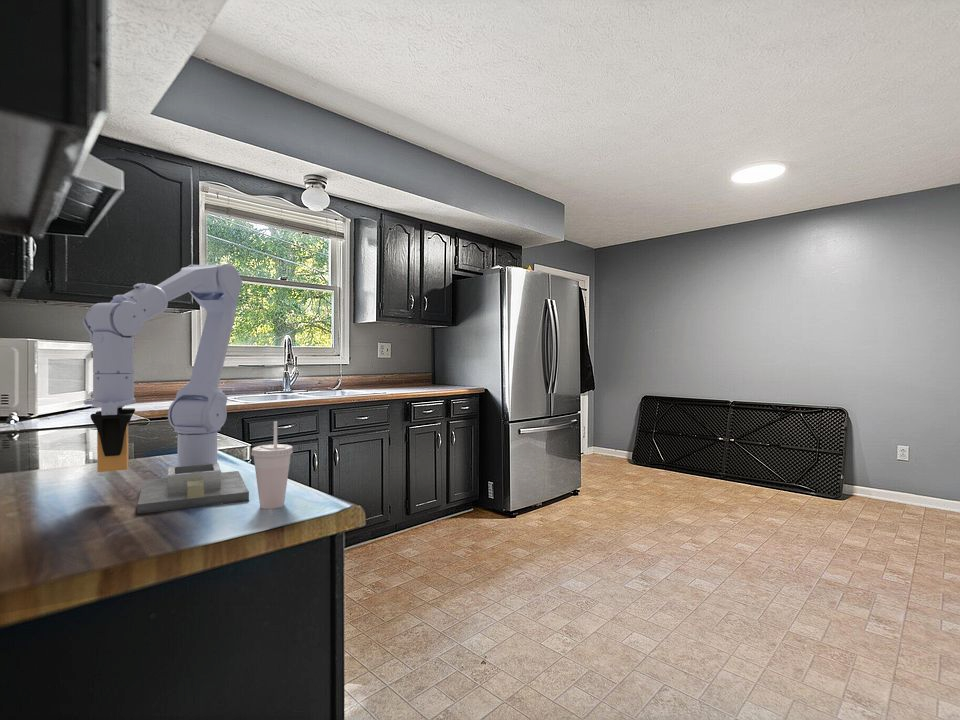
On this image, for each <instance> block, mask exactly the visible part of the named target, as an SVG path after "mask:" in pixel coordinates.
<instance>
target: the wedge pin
mask: <svg viewBox="0 0 960 720" xmlns="http://www.w3.org/2000/svg"><path fill="white" fill-rule="evenodd" d="M96 430H97V429H96ZM96 433H97V434H96V435H97V439H96V440H97V444H96V445H97V446H96V447H97V449H96V450H97V457H96V458H97V461H96V463H97V473H103V472H104V473H106V472H115V471H117V472H118V471H127V470H128V467H129V464H130V463H129V460H130V459H129V456H130V455H129V425H128V424H127V427H126V430H125V434H124V440H123V446H122V450H121V453H120V455H118V456H105V455H104V452H103V449H102V444H101V440H100V436H99V433H98V430H97V431H96Z"/></svg>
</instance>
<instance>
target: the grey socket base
mask: <svg viewBox="0 0 960 720" xmlns="http://www.w3.org/2000/svg"><path fill="white" fill-rule="evenodd" d="M167 472H168V473H167V477H161V478H159V477H158V478H150V479H143V482H142V487H141V490H140V493H139V498H138V501H137V508H136V509H137V513H136V514H137V515H140V514H141V515H142V514H150V513H151V514H152V513H157V512H165V511H173V510H182V509H190V508H191V509H192V508H199V507H207V506H215V505H216V506H218V505H223V504H233V503H239V502H240V503H241V502H248V501H250V490H249V489H248V487H247V485H246V483H245V481H244V479H243V477H242V475H241V473H240V471H239V470H236V471H235V470H234V471H224V472H223V471H222V470H221V467H220V465H219V462H217V463H207V464H195V465H183V466H178V465H175V466H168V470H167Z"/></svg>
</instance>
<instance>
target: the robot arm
mask: <svg viewBox="0 0 960 720" xmlns="http://www.w3.org/2000/svg"><path fill="white" fill-rule="evenodd" d="M132 287H133V289H131V290H130V291H128V292H126V293H124V294H116V295H114V296H112V300H110V302H98V303H95V304H93V305H92V306H91V307H90V308H88V310H87V312H86V315H85V317H82V323H83V326H84V328H85V329H86V331H87V332H88V335H89V342H90V343H91V346H92V399H85V400H83V404H84V406H85V405H87V406H88V405H91V406H95V407H99V408H101V410H99V411H98V410H97V411H96V412H95V413H91V414H90V416H89V417H90V420H91V422H93V424H94V426H95V428H96V430H98V433H99V436H100V440H101V444H102V449H103V452H104V455H105V456H118V455H120V453H121V450H122V446H123V440H124V434H125V430H126V427H127V424H128V426H129V425H130V422H131V419H132V417H133V415H134V413H135V412H136V408H132V407H131V408H130V407H129V408H124V407H125V406H129V405H133V404H136V398H135V373H134V372H135V364H134V363H135V351H134V349H135V344H134V343H135V335H138V334H140V332H141V331H142V328H143V325H144V324H145V323H147V322H148V321H150V320H152V319H153V318H155V317H157V316H159V315H161V314H162V313H164V312H165V311H166V310H167V309H168V305H169V302H170V301H172V300H174V299H176V298H179V297H181V296H183V295H185V294H187V293H189V294H190V295H191V296H192V297H193V299H194V300H195V302H197V304H198V305H199V307H201V308H203V309H204V310H205V311H206V317H205V320H204V321H205V322H204V324H203V329H202V332H201V335H200V341H199V344H198V347H197V351H196V356H195V360H194V362H193V368H192V371H191V376H190V378H189V382H188V383H186V384H185V385H183V386H182V387H181V388H180V389H178V390H177V391H176V395H175V398H174V400H173V401H172V403H171V404H170V405H169V407H168V411H167V419H168V422H169V424H170V426H171V427H173V428H174V433H177V466H183V465H195V464H207V463H218V432H220V431H221V428H222V427H223V426H224V425H225V423H226V421H227V415H228V414H227V413H228V412H227V403H228V396H227V395H226V394H225V392H224V391H222V390H221V388H219V384H220V382H221V381H220V380H221V376H222V373H223V370H224V369H223V368H224V365H225V360H226V357H227V356H226V355H227V351H228V348H229V343H230V339H231V336H232V330H233V326H234V322H235V319H236V318H235V317H236V314H237V306H238V303H239V298H240V294H241V291H242V287H243V280H242V278H241V276H240V274H239V270H238V268H236V267H235V266H234V265H233V264H231V263H229V262H228V263H222V264H220V263H219V264H189V265H188V266H186V267H181V268H180V270H179V271H178V272H177V273H175V274H173V275H172V276H170V277H168V278H166V279H165V280H164V281H162V282H160V283H159V284H157V285H154V284H151V283H145V282H143V283H141V282H140V283H136V284H134V285H132Z"/></svg>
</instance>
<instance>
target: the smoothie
mask: <svg viewBox="0 0 960 720" xmlns="http://www.w3.org/2000/svg"><path fill="white" fill-rule="evenodd" d="M293 452H294V451H293V446H292V445H290V444H279V443H278V421H277V420H275V421H273V444H262V445H257V446H255V447H252V448H251V456H252V457H253V461H254V469H255V477H256V485H257V494H258V501H259V508H260V509H262V510H274V509H279V508H282V507H284V505H285V500H286V492H287V485H288V478H289V477H288V476H289V470H290V463H291V455H292V454H293Z"/></svg>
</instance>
